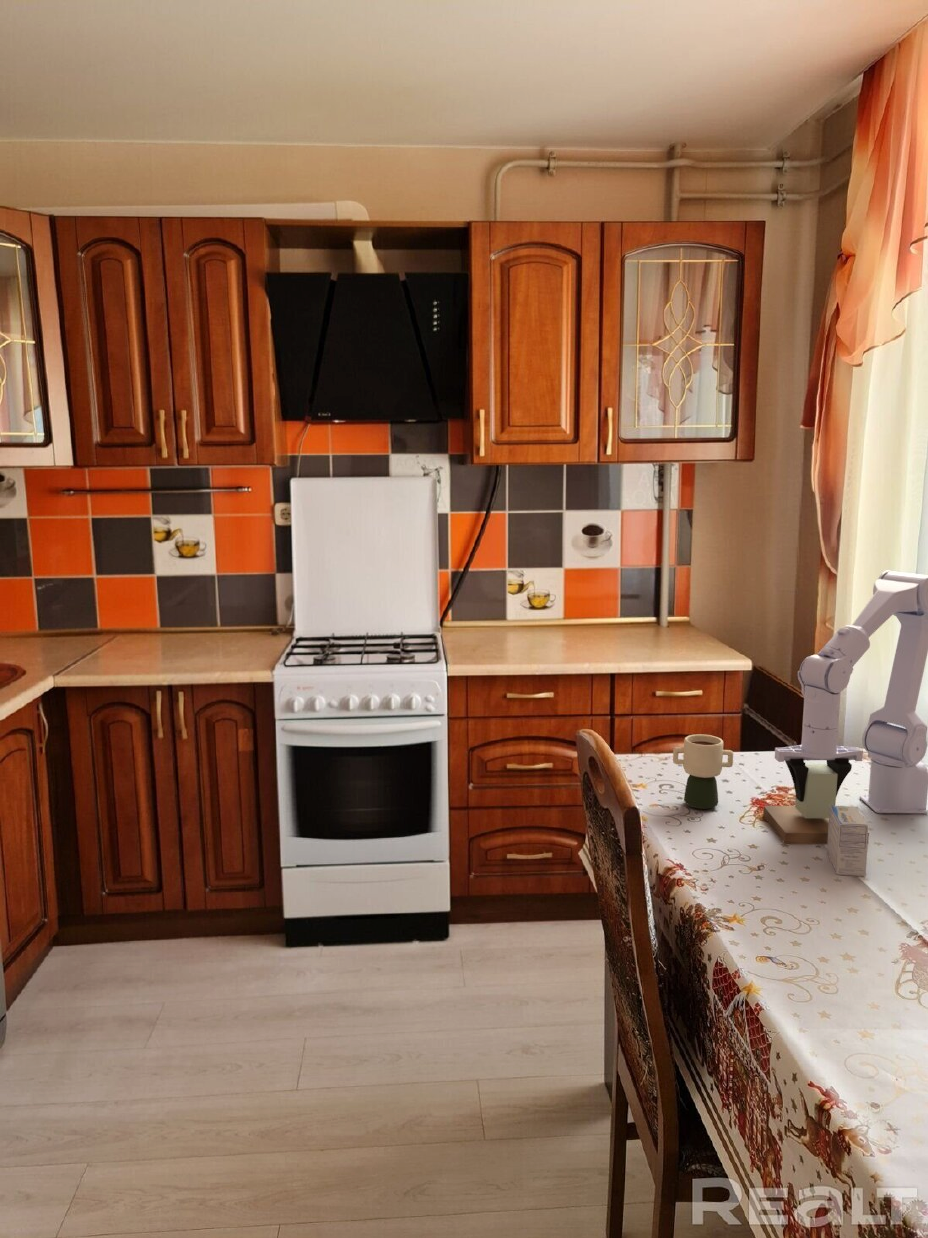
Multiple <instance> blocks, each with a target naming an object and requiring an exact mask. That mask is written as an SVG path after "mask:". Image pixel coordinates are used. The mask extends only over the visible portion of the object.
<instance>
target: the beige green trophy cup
mask: <svg viewBox="0 0 928 1238" xmlns="http://www.w3.org/2000/svg"><path fill="white" fill-rule="evenodd" d="M679 753H682V754H683V756H682V758H683V759H682V758H681V759H679ZM723 756H727V761H723V760H724V759H723V758H724V757H723ZM672 763H673V764H675V765H682V767H683V769H684V772H685V774H688V775H689V776H688V777H687V780H686V785H685V791H684V795H683V797H684V798H683V801H684V802H685V803H686V805H688V806H690V807H692V808H695V809H698V810H699V809H700V810H701V809H702V810H703V809H704V810H708V809H712V808H715V807H716V806H718V805H719V793H718V783H717V778H716V777H718V776H720V775H721V772H722V771H723V768H732V767H733V765H734V751H733V750H730V749H724V740H723V739H722V738H720V737H718V736H714V735H710V734H701V733H700V734H699V733H698V734H691V735H690V734H689V735H687V736H685V737H684V740H683V747H680V746H679V747H678V746H675V747H674V748H673V751H672Z"/></svg>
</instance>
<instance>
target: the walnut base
mask: <svg viewBox="0 0 928 1238" xmlns="http://www.w3.org/2000/svg"><path fill="white" fill-rule="evenodd" d="M762 811H763V812H762V817H763V818H764V819H765V820H766V821H767V823H768V825H769V826H770V827H771V828H772V830H773V831H774V832H775V833H776V834H777V836H778V837H779V838H780V839H781V841H782V842H783V844H785V845H827V840H828V825H829V818H805V817H804V816H803V815H802V814H801V813H800V812H799V811H798V810H797V809H796V808H795V805H763V809H762ZM869 838H870V833H869V832H868V841H869Z"/></svg>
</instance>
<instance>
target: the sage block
mask: <svg viewBox="0 0 928 1238" xmlns="http://www.w3.org/2000/svg"><path fill="white" fill-rule="evenodd" d="M805 766H806V767H808V768H809V770H808V774H807V778H806V784H805V795H804V801H803V802H800V801H799V800H798V799H797V798H796V797H795V800H794V801H795V803H794V806H795V808H796V809H797V810H798V811H799V812H800V813H801V814H802V815H803V816H804V817H805V818H829V810H830V806H836V801H837V796H836V789H837V775H838V774H837V773H836V772H835V771H833V770H832V769H831V768H830V767H828V766H827V763H826V764H825V763H824V764H821V763H817V764H815V763H813V764H810V763H809V764H808V763H805Z"/></svg>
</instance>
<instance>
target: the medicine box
mask: <svg viewBox="0 0 928 1238" xmlns="http://www.w3.org/2000/svg"><path fill="white" fill-rule="evenodd" d="M868 833H869V825H868V823H867V821H866V820H865V818H864V816H863V814H862V813H861V812H860V810H859V808H858V807H857V806H851V805H850V806H848V805H835V806H830V810H829V825H828V840H827V844H826V855H828V858H829V861H830V863H831V864H832V867H833V869H834V870H835V873H836V875H841V876H850V877H851V876H853V877H866V876H867V861H868V845H869V840H868Z"/></svg>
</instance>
